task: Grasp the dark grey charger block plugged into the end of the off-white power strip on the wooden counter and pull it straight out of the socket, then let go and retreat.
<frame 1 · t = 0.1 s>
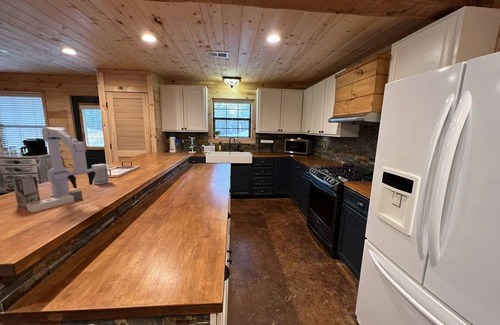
hand: (83, 186, 119), 10 cm above the counter, fingers open, 7 cm apart
power strip: (52, 205, 115), on the counter
coffee box: (29, 204, 117), on the counter
supplement tub: (101, 183, 161), on the counter
charger: (73, 195, 124), point 3 cm above the counter, slide at 0.0 cm
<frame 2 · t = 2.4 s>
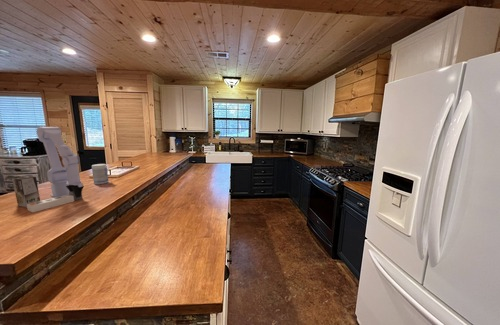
hand: (76, 196, 125), 2 cm above the counter, fingers closed on charger, 4 cm apart
charger: (73, 195, 124), point 3 cm above the counter, slide at 0.0 cm, touching gripper
everything else where it was.
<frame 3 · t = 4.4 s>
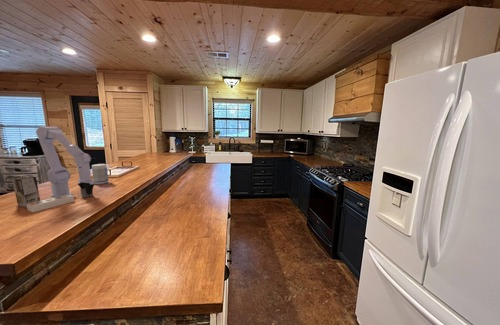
hand: (87, 193, 131), 2 cm above the counter, fingers closed on charger, 4 cm apart
charger: (85, 192, 129), point 3 cm above the counter, slide at 5.9 cm, touching gripper
everything else where it was.
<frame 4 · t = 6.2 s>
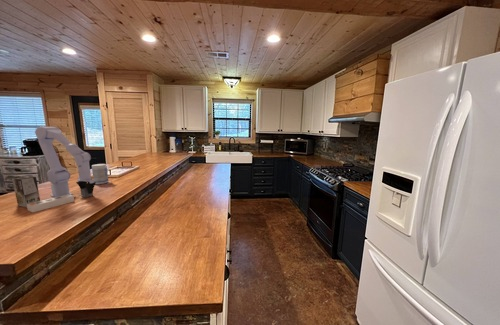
hand: (87, 192, 131), 2 cm above the counter, fingers open, 7 cm apart
charger: (85, 192, 129), point 3 cm above the counter, slide at 5.9 cm
everything else where it was.
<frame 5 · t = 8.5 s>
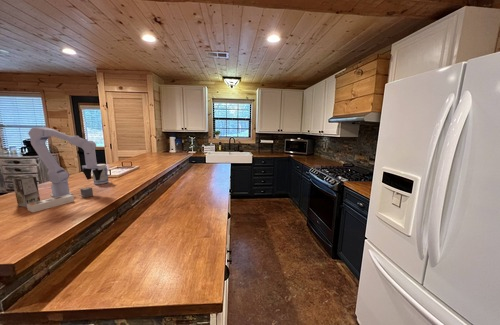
hand: (93, 179, 135), 9 cm above the counter, fingers open, 7 cm apart
nothing on the counter moved.
at the end: charger slide at 5.9 cm; the gripper is holding nothing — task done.
